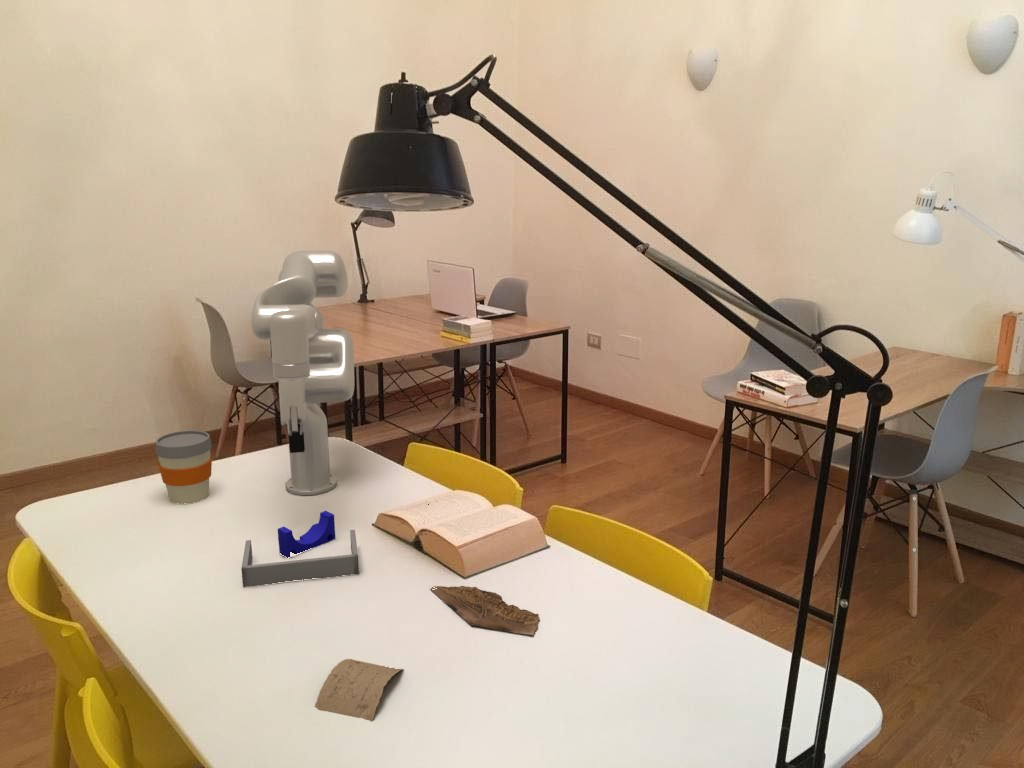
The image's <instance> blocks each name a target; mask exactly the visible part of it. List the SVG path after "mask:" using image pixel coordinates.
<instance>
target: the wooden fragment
mask: <svg viewBox="0 0 1024 768" xmlns="http://www.w3.org/2000/svg"><path fill="white" fill-rule="evenodd" d="M432 586H433V585H432ZM436 586H437V587H436ZM433 587H435V588H437V589H435V588H433ZM433 587H432V588H431V590H432V589H435V590H432V591H433V592H432V591H431V590H430V591H431V592H432V593H433V594H434V595H436V596H437V597H438V598H439V599H440V600H441V601H443V602H444V603H445V604H446V605H448V606H449V607H451V609H452V610H453V611H455V612H456V613H457V614H458V615H459V616H460V617H461V618H462V619H464V620H465V621H466V622H467V623H468V625H470V626H471V627H481V628H486V629H491V630H492V629H493V630H498V631H502V632H510V633H515V634H519V635H530V636H532V637H535V635H536V633H537V632H538V630H539V628H538V627H539V623H540V617H539V613H534V612H532V611H530V610H528V609H521V608H520V607H519V606H517V605H515V604H510V605H509V604H507V602H506V601H504V600H503V599H502V596H501V595H500V594H498V593H496V592H493V591H487V590H483V589H480V588H478V587H477V586H473V587H471V586H468V585H467V586H465V585H460V586H454V585H453V586H443V585H435V586H433ZM538 622H539V623H538ZM535 632H536V633H535Z"/></svg>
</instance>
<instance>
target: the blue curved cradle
mask: <svg viewBox="0 0 1024 768" xmlns="http://www.w3.org/2000/svg"><path fill="white" fill-rule="evenodd" d="M318 520H319V521H318V523H315V524H312V525H311V527H309V529H308V530H307V531H306V532H305V533H304V534H302V535H300V536H299V539H295V537H294V535H293V534H294V533H293V530H292V529H290V528H288V527H286V526H281V527H279V528H277V539H278V551H279V554H280V553H281V554H282V555H284V556H286V557H287V558H288V557H290V552H292V553H294V554H297V553H300V552H303V551H305V550H308V549H310V548H313V547H315V548H318V547H320V546H322V544H323V545H325V544H327V543H330V542H332V541H334V540H336V524H335V514H334V513H332V512H330V511H327V510H323V511H321V512H319V519H318ZM317 546H318V547H317ZM313 549H314V548H313ZM310 550H311V549H310ZM308 551H309V550H308ZM303 553H304V552H303ZM282 555H281V556H282ZM284 556H283V557H284ZM287 558H286V559H287Z"/></svg>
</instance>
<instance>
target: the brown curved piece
mask: <svg viewBox="0 0 1024 768" xmlns="http://www.w3.org/2000/svg"><path fill="white" fill-rule="evenodd" d="M389 667H390V666H387V667H385V665H381V666H380V664H375V663H371V662H366V661H360V660H355V659H352V658H345V659H343V660H341V661H339V662H338V663H337V665H335V666H334V667H333V668H332V669H331V671H330V673H329V674H328V675H327V677H326V679H325V680H324V682H323V685H322V686H321V688H320V690H319V692H318V696H317V698H316V702H315V704H314V708H316V709H317V710H318V711H322V712H328V713H332V714H337V715H342V716H347V717H352V718H357V719H363V720H365V721H369V722H370V721H371V722H372V721H374V717H375V714H376V711H377V707H378V705H379V703H380V700H381V697H382V695H383V692H384V687H385V686H386V685H387V684H388V682H389V681H390V680H391V679H392V677H393V676H395V675H396V674H397V673H399V672H400V671H403V670H404V668H398V669H395V668H396V667H392V668H389Z"/></svg>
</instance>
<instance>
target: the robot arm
mask: <svg viewBox="0 0 1024 768" xmlns="http://www.w3.org/2000/svg"><path fill="white" fill-rule="evenodd" d="M346 269H347V268H346V266H345V263H344V260H343V258H342V257H341V255H340V254H339V253H337V252H336V251H334V250H299V251H293V252H291V253H290V254H288V255H287V256H286V257H285V258H284V260H283V263H282V268H281V271H280V272H279V274H278V281H276V282H274V283H272V284H271V285H269V286H267V287H266V288H264V289H262V290H261V291H260V292H259V293H258V294H257V296H256V297H255V300H254V303H253V307H252V312H251V317H250V318H251V319H250V320H251V321H250V324H251V330H252V333H253V334H254V336H256V338H258V339H259V340H263V341H269V340H270V345H271V347H270V348H271V358H272V361H271V362H272V371H273V372H272V373H273V379H275V380H277V381H278V395H279V397H278V398H279V411H280V424H281V426H283V427H284V426H285V425H287V435H288V436H287V437H288V453H289V464H290V478H288V479H287V481H286V482H285V486H284V487H285V489H286V491H287V492H289V493H291V494H293V495H300V496H313V495H320V494H323V493H327V492H329V491H331V490H333V489H334V488H335V487H336V486H337V484H338V483H337V482H338V480H337V477H336V476H335V475H333V474H331V466H330V465H331V464H330V450H329V434H328V419H327V416H326V414H325V413H324V411H323V409H322V408H321V407H320V406H319V405H318V404H319V403H336V402H339V403H340V402H346V401H348V400H350V399H351V398H352V397H353V396H354V391H355V354H354V352H355V349H354V342H353V337H352V335H351V333H350V332H349V331H348V330H346V329H344V328H339V327H338V328H324V326H325V321H324V315H323V314H322V312H321V311H319V309H318V308H317V307H316V305H314V304H312V302H313V301H314V300H315V298H317V299H318V298H319V299H321V298H340V297H343V296H344V295H345V294H346V292H347V290H348V287H349V286H348V285H349V279H348V275H347V274H348V273H347V270H346ZM317 403H318V404H317Z"/></svg>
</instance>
